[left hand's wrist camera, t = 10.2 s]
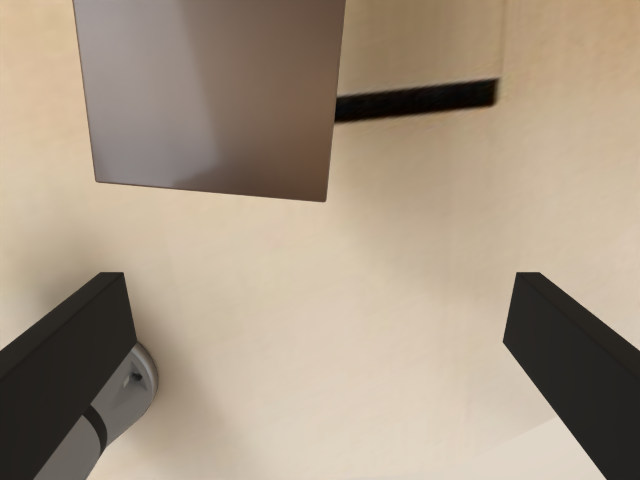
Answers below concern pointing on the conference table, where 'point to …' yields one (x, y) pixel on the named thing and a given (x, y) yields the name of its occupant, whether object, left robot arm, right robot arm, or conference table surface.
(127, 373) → the left robot arm
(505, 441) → the conference table surface
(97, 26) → the box
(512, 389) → the conference table surface
